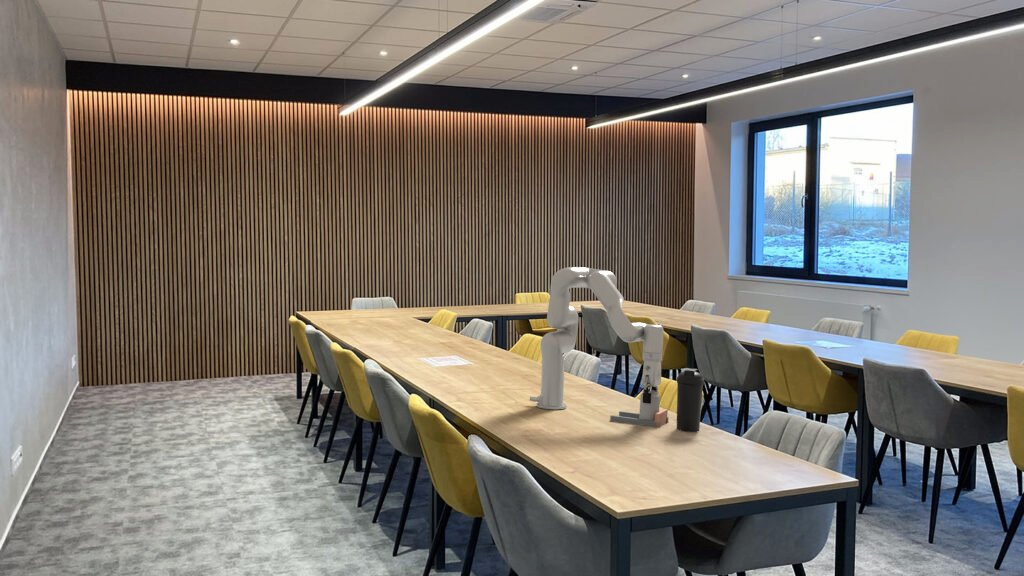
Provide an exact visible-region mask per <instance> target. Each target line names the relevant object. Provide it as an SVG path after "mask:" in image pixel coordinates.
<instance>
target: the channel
mask: <svg viewBox="0 0 1024 576" xmlns="http://www.w3.org/2000/svg"><path fill="white" fill-rule="evenodd" d="M639 414H640V412H638V413H637V412H631V411H630V412H628V411H622V410H620V411H618V415H609V416H610V419H609V421H611V422H618V423H624V424H632V425H640V426H648V427H654V428H661V427H662V426H663V425H665V424H666V422H668V423H669V418H670V417H669V416H668V409H667V408H666V409H665V408H663V409H662V410H661V409H660V410H659V412H658V413H656V414H655V421H652V420H644V419H639ZM664 423H665V424H664Z"/></svg>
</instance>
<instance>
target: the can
mask: <svg viewBox="0 0 1024 576" xmlns="http://www.w3.org/2000/svg"><path fill="white" fill-rule="evenodd" d="M639 397H640V398H639V399H640V400H639V419H644V420H652V421H655V414H656V413H658V412H660V404H661V403H660V402H661V395H660V394H659V390H658V391H654V390H651V403H650V404H648V403H643V390H642V392H641V393H640V395H639Z"/></svg>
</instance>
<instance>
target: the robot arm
mask: <svg viewBox="0 0 1024 576" xmlns="http://www.w3.org/2000/svg"><path fill="white" fill-rule="evenodd" d="M617 283H618V279H617V277H616V275H615V274H614V273H613V272H612V271H609V270H606V269H598V268H597V269H596V268H591V267H580V266H571V267H569V266H568V267H564V268H561V269H559V270H558V271H556V272H555V273H554V274H553V276H552V277H551V283H550V292H549V298H548V306H547V315H546V322H547V325H548V326H549V328H552V329H556V331H549V332H547V333H545V334H544V335H543V336H542V337H541V339H540V354H541V379H540V381H541V382H540V394H539V395H537V396H529V401H530V402H535V403H536V402H537V403H536V407H537V408H540V409H544V410H554V411H555V410H564V409H567V407H568V406H567V404H566V403H564V391H565V390H564V389H565V359H564V355H563V354H566V353H570V352H571V351H573V350H574V349H575V346H576V342H577V337H578V330H579V329H578V328H579V313H578V311H577V310H576V308H575V307H573V306H572V305H570V301H571V293H570V289H572V288H574V289H575V288H576V289H579V288H581V289H582V288H583V289H584V288H585V289H590V290H591V292H592V293H593V294H594V295H595V297H596V298H597V299H598V301H599V302H600V304H601V305H602V306H603V308H604V309H605V311H606V316H607V319H608V322H609V324H610V326H611V328H612V329H613V330H614V332H615V333H616V334H617V336H618V338H620V339H621V340H622V341H623V342H625V343H635V342H637V343H638V342H642V360H643V369H642V382H641V383H642V386H643V387H642V391H643V392H642V393H643V403H648V404H650V403H651V390H654V391H658V392H659V385H660V384H661V383H662V361H663V349H664V347H663V346H664V326H663V325H661V324H660V325H659V324H648V323H644V322H640V321H639V322H638V321H637V322H631V321H630V319H629V318H628V317H627V315H626V314H625V312H624V310H623V304H624V301H625V298H624V296H623V294H622V293H621V292H620V291H619V290H618V288H617Z"/></svg>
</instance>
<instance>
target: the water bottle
mask: <svg viewBox="0 0 1024 576" xmlns="http://www.w3.org/2000/svg"><path fill="white" fill-rule="evenodd" d="M698 370H699V368H698V369H697V368H689V367H687V368H685V369H684V371H681V372H680V373H679V374H678V375H677V376H676V384H677V385H676V386H677V387H676V388H677V389H676V391H677V392H676V393H677V394H676V396H677V397H676V430H678V431H681V432H685V433H697V431H698V432H699V431H700V427H701V426H700V425H701V412H702V404H703V403H702V402H703V401H702V400H703V399H702V398H703V389H704V387H703V386H704V384H705V378H704V376H703V374H701V373H700V372H697V371H698Z"/></svg>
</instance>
